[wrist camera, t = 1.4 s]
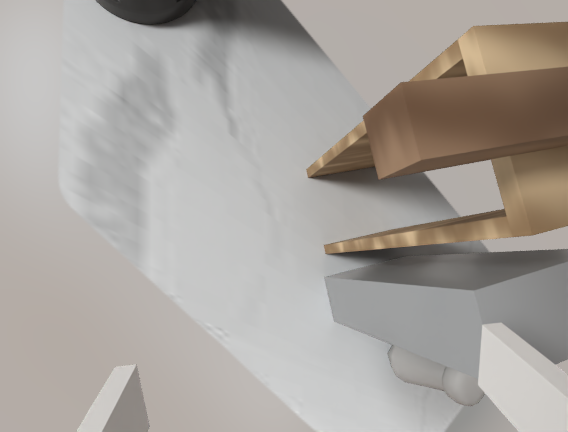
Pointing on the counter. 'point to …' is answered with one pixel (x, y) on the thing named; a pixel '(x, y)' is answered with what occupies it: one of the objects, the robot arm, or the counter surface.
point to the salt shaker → (435, 376)
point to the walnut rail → (467, 120)
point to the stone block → (457, 303)
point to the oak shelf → (508, 170)
